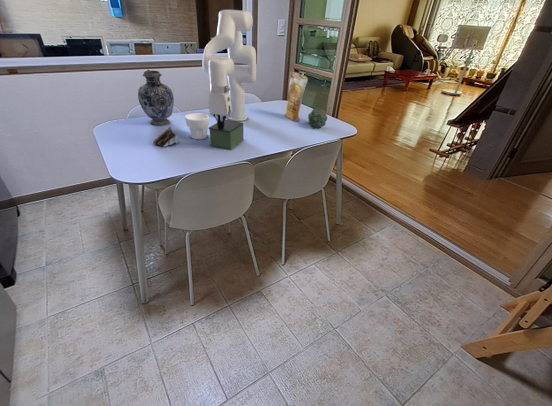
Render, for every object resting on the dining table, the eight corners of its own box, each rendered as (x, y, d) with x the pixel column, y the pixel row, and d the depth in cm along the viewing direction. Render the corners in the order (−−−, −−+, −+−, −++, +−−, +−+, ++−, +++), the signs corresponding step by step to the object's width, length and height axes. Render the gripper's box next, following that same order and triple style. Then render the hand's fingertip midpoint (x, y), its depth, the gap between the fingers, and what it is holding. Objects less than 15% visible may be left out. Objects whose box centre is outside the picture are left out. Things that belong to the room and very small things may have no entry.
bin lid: (229, 133, 138) (229, 131, 138) (208, 129, 141) (208, 127, 141) (243, 124, 151) (243, 122, 150) (223, 120, 154) (223, 119, 153)
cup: (185, 133, 159) (183, 113, 152) (208, 131, 163) (206, 112, 157) (189, 141, 149) (186, 120, 143) (213, 139, 154) (211, 119, 148)
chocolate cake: (161, 150, 139) (176, 130, 140) (151, 143, 141) (166, 123, 141) (172, 156, 149) (186, 138, 149) (162, 149, 150) (176, 131, 151)
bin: (231, 149, 144) (230, 133, 139) (210, 145, 147) (209, 128, 142) (243, 140, 156) (243, 124, 151) (224, 136, 159) (223, 120, 154)
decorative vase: (181, 125, 168) (175, 74, 153) (148, 130, 159) (138, 76, 144) (170, 115, 183) (163, 67, 167) (139, 119, 173) (128, 68, 158)
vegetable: (322, 118, 190) (334, 114, 176) (312, 134, 188) (323, 131, 174) (309, 106, 185) (320, 102, 171) (298, 123, 184) (308, 119, 170)
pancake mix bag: (290, 113, 202) (294, 70, 187) (304, 121, 188) (309, 76, 173) (282, 114, 200) (285, 70, 184) (295, 122, 186) (299, 76, 170)
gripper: (237, 89, 132) (238, 128, 142) (208, 85, 136) (211, 123, 146) (229, 93, 126) (231, 133, 136) (200, 88, 130) (203, 128, 140)
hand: (221, 128), depth 141 cm, fingers closed
